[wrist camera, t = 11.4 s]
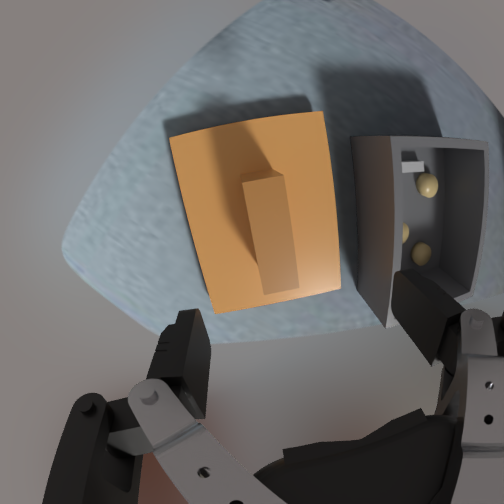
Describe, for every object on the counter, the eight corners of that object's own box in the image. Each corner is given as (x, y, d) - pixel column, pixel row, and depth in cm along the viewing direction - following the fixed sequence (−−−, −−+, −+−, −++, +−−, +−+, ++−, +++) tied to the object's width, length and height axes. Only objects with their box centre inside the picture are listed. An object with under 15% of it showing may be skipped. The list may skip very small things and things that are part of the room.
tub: (442, 136, 22) (488, 141, 15) (438, 269, 28) (472, 296, 21) (350, 136, 22) (390, 136, 15) (357, 290, 28) (385, 328, 21)
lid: (314, 113, 21) (346, 102, 14) (333, 278, 27) (360, 317, 21) (174, 138, 21) (150, 136, 15) (216, 301, 27) (212, 348, 21)
